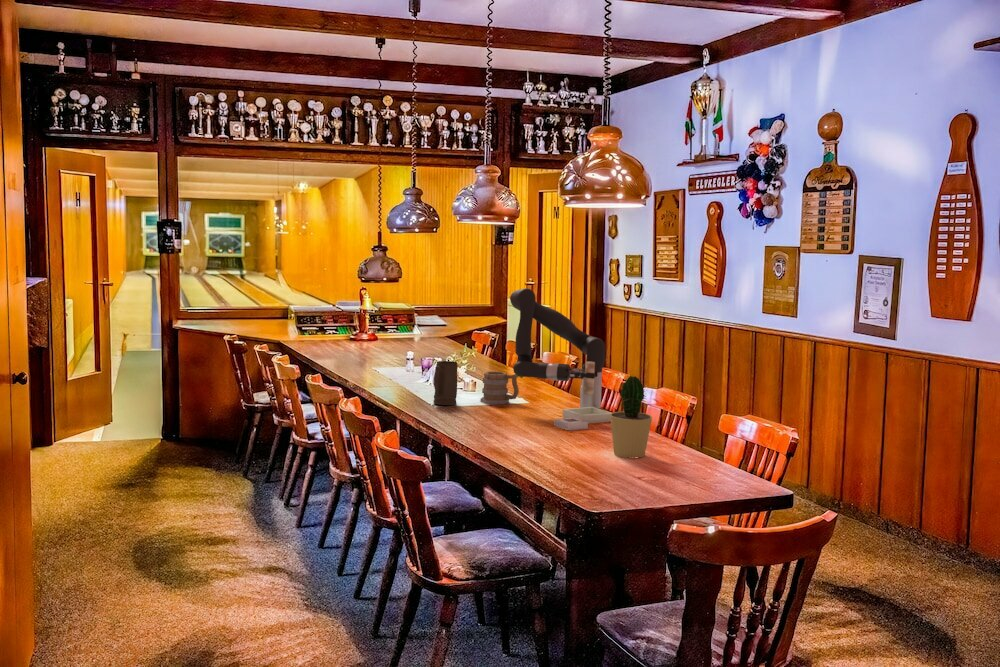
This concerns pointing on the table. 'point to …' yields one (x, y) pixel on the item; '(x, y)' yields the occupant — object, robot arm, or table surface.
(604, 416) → the sage tray
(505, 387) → the tankard
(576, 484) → the table surface
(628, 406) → the potted cactus
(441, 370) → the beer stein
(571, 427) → the peg holder
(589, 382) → the maple peg
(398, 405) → the table surface
